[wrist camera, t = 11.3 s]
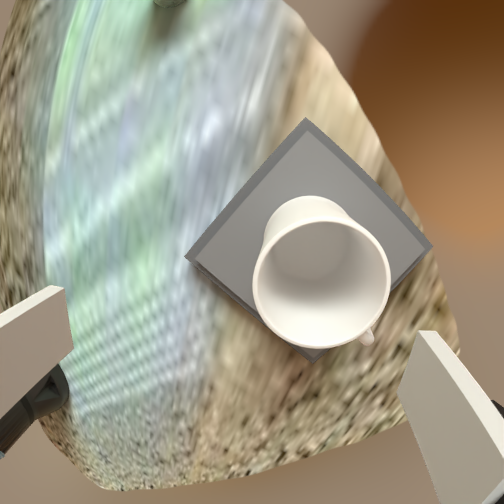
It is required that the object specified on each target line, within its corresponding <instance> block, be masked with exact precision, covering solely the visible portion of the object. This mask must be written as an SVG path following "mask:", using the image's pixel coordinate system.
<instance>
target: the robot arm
mask: <svg viewBox="0 0 504 504" xmlns="http://www.w3.org/2000/svg"><path fill="white" fill-rule="evenodd" d="M73 349H74V346H73V341H72V336H71V330H70V324H69V318H68V311H67V304H66V297H65V289H64V288H62V287H57V286H53V285H50V286H48V287H46V288H44V289H43V290H41V291H39V292H37V293H36V294H34V295H32V296H30V297H29V298H27V299H25V300H23V301H22V302H20V303H18V304H16V305H15V306H13V307H11V308H10V309H8V310H6V311H5V312H3V313H1V314H0V459H1V458H2V457H4V456H5V454H6V453H7V451H8V450H9V449H10V448H11V447H12V446H13V445H14V443H15V442H16V441H17V440H18V439H19V438H20V437H21V435H22V434H23V433H24V432H25V431H26V430H27V429H28V427H29V426H30V425H31V424H32V423H33V422H34V421H35V420H36V419H39V418H41V417H43V416H45V415H48V414H50V413H52V412H54V411H57V410H58V409H60V408H61V407H62V405H63V404H64V403H65V402H66V401H67V399H68V395H69V390H68V384H67V381H66V378H65V376H64V374H63V372H62V370H61V368H60V367H59V365H58V363H59V362H60V361H61V360H62V359H63V358H64V357H65V356H66V355H67V354H69V353H70V352H71V351H72V350H73ZM397 395H398V397H399V399H400V402H401V404H402V406H403V409H404V411H405V413H406V416H407V418H408V421H409V423H410V425H411V428H412V430H413V433H414V435H415V437H416V440H417V443H418V445H419V448H420V450H421V453H422V455H423V458H424V461H425V463H426V466H427V469H428V471H429V474H430V477H431V480H432V482H433V485H434V488H435V491H436V494H437V497H438V500H439V502H440V504H504V408H503V407H502V406H501V405H499V404H498V403H497V402H495V401H494V400H490V399H489V398H488V397H487V395H486V394H485V392H484V391H483V390H482V389H481V387H480V386H479V384H478V383H477V382H476V380H475V379H474V378H473V377H472V375H471V374H470V373H469V371H468V370H467V369H466V368H465V366H464V365H463V364H462V363H461V361H460V360H459V359H458V358H457V356H456V355H455V354H454V353H453V351H452V350H451V349H450V348H449V346H448V345H447V344H446V343H445V342H444V340H443V339H442V338H441V337H440V336H439V334H438V333H437V332H436V331H418V332H417V335H416V339H415V342H414V345H413V348H412V351H411V354H410V357H409V360H408V363H407V366H406V369H405V371H404V374H403V377H402V380H401V382H400V385H399V388H398V390H397Z"/></svg>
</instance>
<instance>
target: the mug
mask: <svg viewBox="0 0 504 504" xmlns="http://www.w3.org/2000/svg"><path fill="white" fill-rule="evenodd" d="M390 286H391V273H390V267H389V263H388V259H387V257H386V254H385V252H384V250H383V248H382V247H381V245H380V244H379V242H378V241H377V240H376V239H375V237H374V236H373V235H372V234H371V233H370V232H368V231H367V230H366V229H365V228H363V227H362V226H361V225H360V224H358V223H357V222H356V221H354V220H353V219H352V218H350V217H349V216H348V215H347V213H346V212H345V211H344V210H343V209H342V208H341V207H340V206H339V205H338V204H336V203H335V202H333V201H331V200H329V199H326V198H323V197H319V196H301V197H297V198H294V199H292V200H289V201H288V202H286V203H284V204H283V205H281V206H280V207H279V208H278V209H277V210H276V211H275V212H274V213H273V215H272V216H271V218H270V219H269V221H268V223H267V226H266V228H265V232H264V240H263V245H262V248H261V251H260V254H259V257H258V260H257V262H256V266H255V269H254V274H253V283H252V287H253V297H254V301H255V305H256V307H257V310H258V312H259V314H260V316H261V318H262V319H263V321H264V322H265V323H266V325H267V326H268V327H269V328H270V329H271V330H272V331H273V332H274V333H275V334H277V335H278V336H279V337H281V338H282V339H284V340H286V341H288V342H290V343H292V344H295V345H298V346H301V347H306V348H314V349H323V348H332V347H336V346H340V345H343V344H346V343H348V342H350V341H352V340H354V339H356V338H357V339H358V340H359V341H360V342H361V343H362V344H363V345H365V346H368V345H371V344H372V343H373V342H374V336H373V333H372V331H371V329H370V327H371V326H372V325H373V324H374V323H375V322H376V320H377V319H378V318H379V316H380V315H381V313H382V311H383V309H384V307H385V305H386V303H387V300H388V297H389V292H390Z"/></svg>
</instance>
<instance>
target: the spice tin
mask: <svg viewBox="0 0 504 504" xmlns="http://www.w3.org/2000/svg"><path fill="white" fill-rule="evenodd" d="M154 1H155V2H156V4H158V5H159V6H161V7H173V6H177V5H179V4H181V3H183V2H184V1H185V0H154Z"/></svg>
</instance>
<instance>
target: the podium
mask: <svg viewBox="0 0 504 504" xmlns="http://www.w3.org/2000/svg"><path fill="white" fill-rule="evenodd" d="M301 196H319V197H323V198H326V199H329V200H331V201H333V202H335V203H336V204H338V205H339V206H340V207H341V208H342V209H343V210H344V211H345V212H346V213H347V215H348V216H349V217H350V218H352V219H353V220H354V221H356V222H357V223H358V224H360V225H361V226H362V227H363V228H365V229H366V230H367V231H368V232H370V233H371V234H372V235H373V236H374V237H375V239H376V240H377V241H378V242H379V244H380V245H381V247H382V248H383V250H384V252H385V254H386V257H387V259H388V263H389V267H390V273H391V286H390V292H391V291H392V290H393V289H394V288H395V287H396V286H397V285H398V284H399V283H400V282H401V281H402V280H403V279H404V278H405V277H406V276H407V275H408V274H409V272H410V271H411V270H412V269H413V268H414V267H415V266H416V265H417V264H418V263H419V262H420V261H421V259H422V258H423V257H424V256H425V255H426V254H427V253H428V252H429V251H430V249H431V248H432V247H433V246H432V244H431V243H430V242H429V241H428V240H427V238H426V237H425V236H424V235H423V234H422V232H421V231H420V230H419V229H418V228H417V227H416V226H415V224H414V223H413V222H412V221H411V220H410V219H409V218H408V216H407V215H406V214H405V213H404V212H403V211H402V210H401V209H400V208H399V207H398V205H397V204H396V203H395V202H394V201H393V200H392V199H391V198H390V197H389V196H388V195H387V194H386V193H385V192H384V191H383V190H382V188H381V187H380V186H379V185H378V184H377V183H376V182H375V181H374V180H373V179H372V178H371V177H370V176H369V175H368V174H367V173H366V172H365V171H364V170H363V169H362V168H361V167H360V166H359V165H358V164H357V163H356V162H355V161H353V160H352V159H351V158H350V157H349V156H348V155H347V154H346V153H345V152H344V151H343V150H342V149H341V148H340V147H339V146H338V145H336V144H335V143H334V142H333V141H332V140H331V139H330V138H329V137H328V136H327V135H325V134H324V133H323V132H322V131H321V130H320V129H319V128H318V127H316V126H315V125H314V124H313V123H312V122H311V121H309V120H308V119H307V118H306V117H305V118H304V119H303V120H302V121H301V122H300V124H299V125H298V126H297V127H296V128H295V129H294V130H293V131H292V132H291V133H290V134H289V136H288V137H287V138H286V139H285V140H284V141H283V142H282V143H281V144H280V145H279V147H278V148H277V149H276V150H275V151H274V152H273V153H272V154H271V155H270V157H269V158H268V159H267V160H266V161H265V162H264V163H263V164H262V166H261V167H260V168H259V169H258V170H257V171H256V172H255V173H254V175H253V176H252V177H251V178H250V179H249V180H248V181H247V183H246V184H245V185H244V186H243V187H242V188H241V190H240V191H239V192H238V193H237V194H236V195H235V196H234V198H233V199H232V200H231V201H230V202H229V203H228V205H227V206H226V207H225V208H224V209H223V211H222V212H221V213H220V214H219V215H218V216H217V218H216V219H215V220H214V221H213V222H212V224H211V225H210V226H209V227H208V228H207V230H206V231H205V232H204V233H203V234H202V236H201V237H200V238H199V239H198V240H197V242H196V243H195V244H194V245H193V246H192V248H191V249H190V250H189V251H188V253H187V254H186V255H185V256H184V257H185V258H186V259H187V260H189V261H190V262H191V263H192V264H193V265H194V266H195V267H197V268H198V269H199V270H200V271H201V272H202V273H203V274H205V275H206V276H207V277H208V278H209V279H210V280H212V281H213V282H214V283H215V284H216V285H217V286H219V287H220V288H221V289H222V290H223V291H224V292H226V293H227V294H228V295H229V296H230V297H231V298H233V299H234V300H235V301H236V302H237V303H239V304H240V305H241V306H242V307H243V308H245V309H246V310H247V311H248V312H249V313H251V314H252V315H253V316H254V317H255V318H257V319H258V320H259V321H260V322H261V323H263V324H264V325H265V326H266V327H268V326H267V325H266V323H265V322H264V321H263V319H262V318H261V316H260V314H259V312H258V310H257V307H256V305H255V301H254V297H253V287H252V283H253V274H254V269H255V266H256V262H257V260H258V257H259V254H260V251H261V248H262V245H263V240H264V232H265V228H266V226H267V223H268V221H269V219H270V218H271V216H272V215H273V213H274V212H275V211H276V210H277V209H278V208H279V207H280V206H281V205H283V204H284V203H286V202H288V201H289V200H292V199H294V198H297V197H301ZM390 292H389V293H390ZM268 328H269V327H268ZM269 329H270V328H269ZM270 330H271V329H270ZM271 331H272V330H271ZM272 332H273V331H272ZM276 335H277V334H276ZM277 336H278V335H277ZM280 338H281V337H280ZM281 339H282V338H281ZM282 340H284V339H282ZM284 341H285V342H286V343H287V344H289V345H290V346H291V347H292V348H294V349H295V350H296V351H297V352H299V353H300V354H301V355H302V356H304V357H305V358H306V359H307V360H309V361H310V362H311V363H312V364H313V363H314V362H315V361H317V360H318V359H319V358H320V357H321V356H322V355H324V354H325V353H326V352H327V351H328V350H329V349H331V348H323V349H314V348H306V347H301V346H298V345H295V344H292V343H290V342H288V341H286V340H284Z"/></svg>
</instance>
